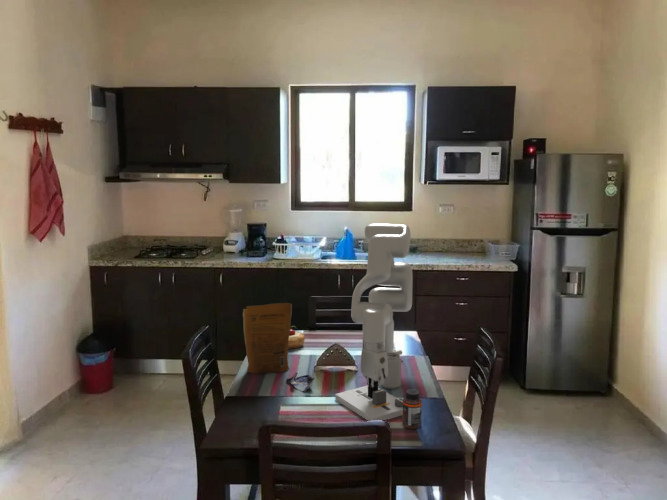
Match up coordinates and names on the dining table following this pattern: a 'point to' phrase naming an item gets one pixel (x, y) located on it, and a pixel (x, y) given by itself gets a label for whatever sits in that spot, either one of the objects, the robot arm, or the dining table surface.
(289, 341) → the pastry
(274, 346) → the pancake mix bag
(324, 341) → the dining table surface
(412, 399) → the supplement bottle
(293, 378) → the snack package
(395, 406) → the console board
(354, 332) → the dining table surface
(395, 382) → the can
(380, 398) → the fader knob
